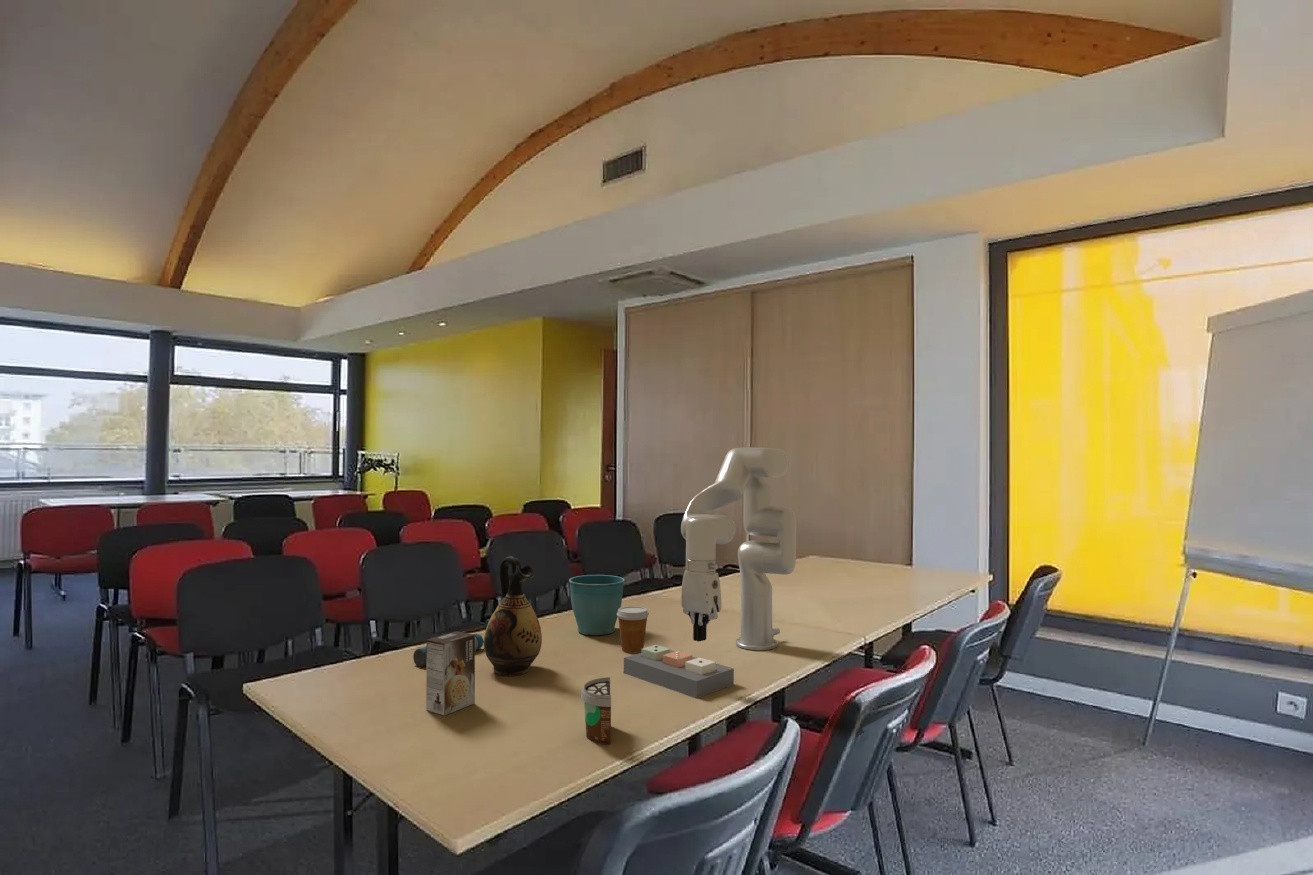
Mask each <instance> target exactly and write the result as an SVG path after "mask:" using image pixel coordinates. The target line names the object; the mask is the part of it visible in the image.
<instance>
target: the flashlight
mask: <svg viewBox="0 0 1313 875" xmlns="http://www.w3.org/2000/svg"><path fill="white" fill-rule="evenodd" d="M473 634H474V635H475V652H476V651H478V650H481V648H482V647H484V638H483V636H482V635H481V634H479V633H473ZM426 656H427V645H425V646H424V647H419V648H417V649H415V650H414V653H413V655H412V658H413V663H414V664H415V666H416V667H419V668H422V667H425V666H426Z"/></svg>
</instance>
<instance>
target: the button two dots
mask: <svg viewBox="0 0 1313 875" xmlns="http://www.w3.org/2000/svg"><path fill="white" fill-rule="evenodd" d="M670 650H671V648H669V647H666V646H662V645H657V644H654V645H650V646H647V647H643V649H642V651H641V653H642V657H644V658H647V659H650V660H654V661H658V660H661V659H663V655H665V654H668V653H670Z"/></svg>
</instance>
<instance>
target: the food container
mask: <svg viewBox="0 0 1313 875" xmlns="http://www.w3.org/2000/svg"><path fill="white" fill-rule="evenodd" d="M580 699H581V700H582V701H583V705H584V722H585V736H586V739H587V740H589V741H590V742H593V743H596V744H602V745H612V737H611V736H612V695H611V677H610V676H608V677H607V676H606V677H598V678H595V679H591V680H589V681H587V682H585V683H584V685H583V686H582V689H581V695H580Z"/></svg>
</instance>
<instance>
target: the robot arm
mask: <svg viewBox="0 0 1313 875" xmlns="http://www.w3.org/2000/svg"><path fill="white" fill-rule="evenodd" d="M788 468H789V457H788V455H787V452H786V451H785V450H784V449H782V448H774V447H773V448H771V447H763V446H762V447H753V446H752V447H749V446H748V447H745V446H744V447H734V448H731V449H730V450H729V451H728V452H727V453H726V454H725V457H724V460H723V462H722V464H721V467H720V469H719V472H718V473H717V476H716V479H715V481H714V483H713V484H710V485H709V486H707V487H706V488H704V489H703V490H701V491H700V492H698V494H696V495H695V496H694V497H693V498H692V499H691V500H690V501H689V503H688V505H687V508H686V510H685V512H684V514H683V516H682V520H681V524H680V533H681V536H682V537H683V539H684V540H685V570H684V573H683V576H682V584H681V594H680V595H681V596H680V597H681V598H680V603H681V607H682V611H683V612H682V613H684V614H685V615H687V616H688V617H689V619H690V623H691V624H692V625H693V627H692V633H693V634H692V640H693V641H695V642H703V641H706V640H707V625H709V623H710V621H711V620H712V621H713V620H718V618H719V616H718V613H719V612H721V611H722V589H721V588H722V587H721V583H720V582H721V581H720V576H719V573H718V572H717V571H716V570H718V568H719V566H718V564H717V562H716V561H717V560H716V557H717V556H716V554H717V553H716V551H717V548H716V547H717V546H716V544H717V545H725V544H729V543H731V542H732V540H733V539H734V537H735V536H736V531H737V528H736V527H737V526H736V523H735V521H734V520H733V519H732V518H731V517H730V516H728V515H722V514H713V513H712V514H710V513H709V512H712V511H713V510H716V509H720V508H722V507H726V506H728V505H733V503H737V502H738V501H739V500H741V499H742V498H743V519H742V520H743V529H744V531H745V533H746V534H747V535H749V536H752V537H753V536H754V537H765V538H776V539H777V540H778V541H768V540H767V541H766V540H746V541H744V542H742V543H741V544H740V545H739V547H738V549H737V561H738V567H739V574H740V637H738V638H736V639H735V645H736V646H737V647H739V648H742V649H745V650H751V651H766V650H767V651H769V650H773V649H775V648H776V647H777V646H778V641H777V640H776V638H775V639H774V637H775V636H777V635H780V633H781V629H780V628H779V627H775V628H773V586H772V583H771V581H770V580H769V578H768V576H767V574H773V575H774V574H775V575H785V576H786V575H790V574H792V573H793V571H794V570H795V568H796V561H797V518H796V514H795V512H794V510H793V509H792V508H790V507H789V506H783V505H773V501H772V494H773V492H772V491H773V490H772V488H771V485H770V483H769V481H768V480H767V479H766V478H782V477H784V476H785V474H786V473H787V471H788Z"/></svg>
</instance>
